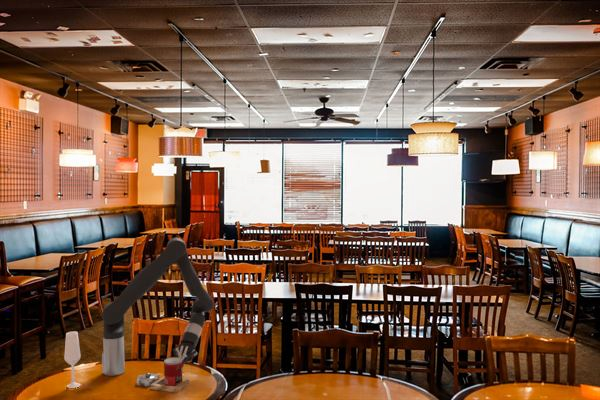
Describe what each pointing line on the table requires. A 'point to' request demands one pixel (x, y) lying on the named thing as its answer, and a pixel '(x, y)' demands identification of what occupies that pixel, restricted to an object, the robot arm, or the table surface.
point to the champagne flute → (72, 354)
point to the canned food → (173, 371)
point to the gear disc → (147, 379)
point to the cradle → (158, 386)
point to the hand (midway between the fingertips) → (178, 369)
